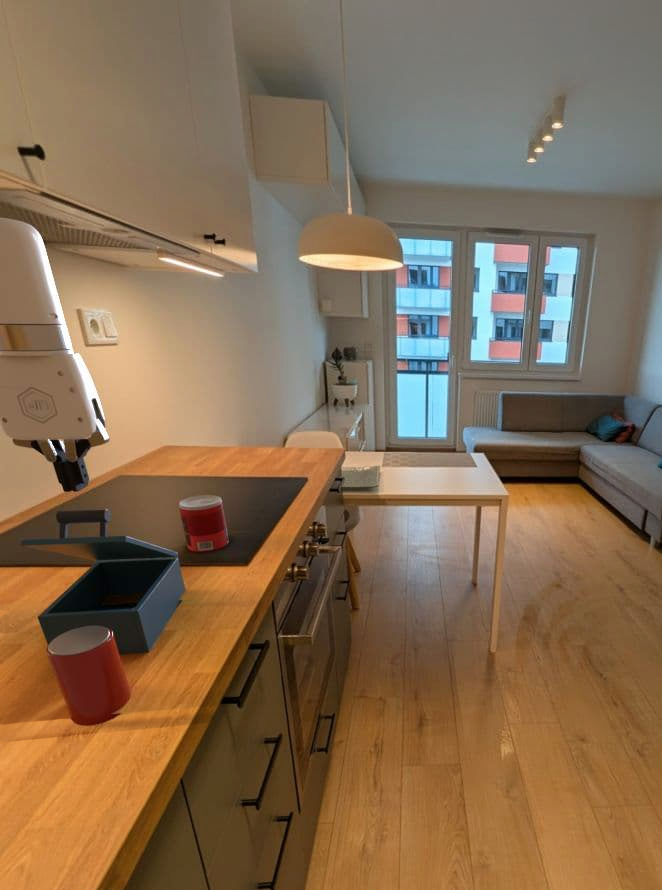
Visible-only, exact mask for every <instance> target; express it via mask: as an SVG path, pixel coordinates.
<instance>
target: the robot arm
mask: <svg viewBox="0 0 662 890" xmlns="http://www.w3.org/2000/svg"><path fill="white" fill-rule="evenodd" d="M65 320H66V319H65V317H64V313H63V308H62V305H61V302H60V298H59V295H58V291H57V287H56V283H55V280H54V276H53V273H52V268H51V265H50V261H49V257H48V255H47V250H46V247H45V244H44V241H43V238H42V236H41V234H40V232H39V231H38V230H37V228H35V227H34V226H33V225H31V224H29V223H27V222H25V221H22V220H17V219H13V218H8V217H0V428H1V430H2V432H3V433H4V435H5V436H6V437H8V438H11V439H12V443H13V445H15V446H17V447H21V448H27V449H33V450H35V452H38V453H40V454H41V455H42V456H43V457H44V458H45V459H46V461H47V462H49V463H51V464H52V466H53V469H54V473H55V475H56V478H57V481H58V483H59V484H60V485H61V488H62V490H63V492H64V493H70V492H74V493H76V492H80V491H82V490H84V489H85V488H87V487H88V486H89V481H90V476H89V473H88V469H87V466H86V462H85V459H84V458H85V457H86V456H87V455H88V453H89V451H90V450H91V449H92V448H95V447H99V446H103V445H105V444H107V443H109V442H110V437H109V435H108V433H107V431H106V425H107V424H106V418H105V415H104V411H103V407H102V404H101V401H100V397H99V396H98V391H97V389H96V387H95V384H94V381H93V379H92V376H91V374H90V373H89V370H88V368H87V366H86V364H85V362H84V360H83V358H82V356H81V354H80V353H79V352H74V349H73V346H72V342H71V338H70V334H69V330H68V327H67V324H66V321H65ZM62 440H63V441H62Z"/></svg>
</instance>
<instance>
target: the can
mask: <svg viewBox="0 0 662 890" xmlns="http://www.w3.org/2000/svg"><path fill="white" fill-rule="evenodd" d="M45 653H46V655H47V656H46V657H47V658H48V661H49V664H50V667H51V669H52V671H53V674H54V678H55V680H56V682H57V685H58V688H59V690H60V693H61V696H62V698H63V702H64V703H65V706H66V709H67V712H68V714H69V716H70V719H71V721H72V722H73V723H74V724H76V725H79V726H94V725H99V724H103V723H105V722H108V721H111V720H112V719H115V718H117V717H118V716H120V715H121V714H122V712H119V710H120V709H122V708H123V707H125V706H126V705H127V703H128V702H129V701H130V699H131V697H132V691H131V688H130V684H129V680H128V678H127V674H126V671H125V668H124V664H123V661H122V658H121V655H120V654H119V651H118V648H117V645H116V641H115V638H114V635H113V632H112V630H111V629H109V628H107V627H103V626H85V627H80V628H76V629H73V630H70V631H68V632H65V633H63V634H61V635H59V636H58V637H56V638H55V639H54V640H53V641H52V642H51V643H50V644H49V645H48V644H47V646H46V649H45ZM116 712H117V713H116ZM118 712H119V713H118Z"/></svg>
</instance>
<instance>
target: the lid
mask: <svg viewBox="0 0 662 890" xmlns="http://www.w3.org/2000/svg"><path fill="white" fill-rule="evenodd" d="M55 519H56V522H57V523H58V524H59V531H58V532H59V533H58V534H59V535H58V537H57V538H54V537H53V538H32V539H31V538H30V539H28V538H27V539H20V546H21V547H26V548H31V549H36V550H41V551H45V552H50V553H56V554H61V555H66V556H72V557H76V558H81V559H87V560H91V561H95V562H97V561H107V560H129V559H152V558H176V557H178V556H179V555H178V554H179V553H178V552H177V551H174V550H171V549H169V548H168V549H167V548H164V547H162V546H158V545H155V544H152V543H150V542H147V541H142V540H139V539H136V538H133V537H130V536H128V535H112V536H108V532H109V531H108V526H109V522H111V520H112V514H111V511H110V510H109V509H108V508H102V509H101V508H99V509H69V510H68V509H67V510H66V509H65V510H64V509H63V510H57V512H56V514H55ZM93 523H94V524H96V523H97V524H98V523H99V536H85V537H84V536H82V537H68V536H69V535H68V531H69V527H68V526H69V524H70V525H71V524H93ZM178 558H179V557H178Z"/></svg>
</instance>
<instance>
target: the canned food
mask: <svg viewBox="0 0 662 890" xmlns="http://www.w3.org/2000/svg"><path fill="white" fill-rule="evenodd" d="M178 508H179V514H180V519H181V523H182V527H183V532H184V537H185V543H186V545H187V549H188V550H190V551H192V552H201V553H202V552H211V551H216V550H219V549H222V548H223V547H225V546H227V545H228V544H229V542H230V541H229V534H228V529H227V523H226V516H225V512H224V504H223V500H222V497H220V496H218V495H214V494H213V495H212V494H204V495H203V494H201V495H194V496H189V497H187V498H184V499H181V500H180V501H179V502H178Z"/></svg>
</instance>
